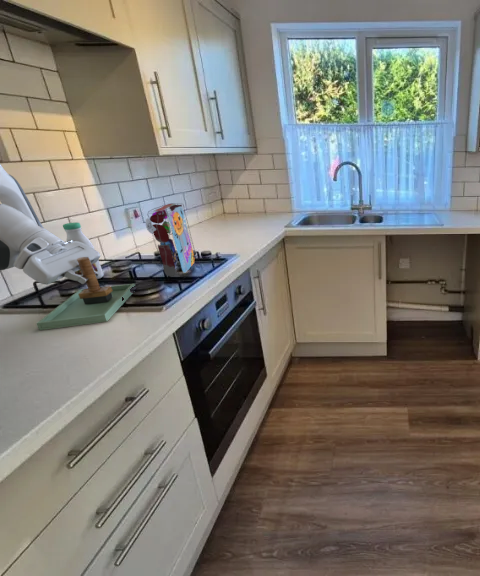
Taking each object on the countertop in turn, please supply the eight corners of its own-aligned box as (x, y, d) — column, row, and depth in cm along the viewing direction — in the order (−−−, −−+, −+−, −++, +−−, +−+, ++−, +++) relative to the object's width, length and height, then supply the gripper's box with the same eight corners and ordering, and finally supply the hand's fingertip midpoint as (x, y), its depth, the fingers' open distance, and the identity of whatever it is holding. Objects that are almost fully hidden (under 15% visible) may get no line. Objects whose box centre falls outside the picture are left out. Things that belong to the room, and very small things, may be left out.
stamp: (82, 305, 107) (64, 261, 102) (89, 299, 111) (72, 257, 105) (109, 301, 109) (93, 258, 103) (114, 296, 112) (99, 254, 107)
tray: (39, 330, 95) (35, 323, 94) (81, 295, 116) (79, 289, 115) (107, 321, 99) (104, 314, 98) (136, 289, 120) (134, 283, 119)
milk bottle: (85, 275, 133) (65, 221, 125) (108, 273, 134) (90, 220, 126) (72, 283, 126) (50, 226, 118) (97, 281, 127) (77, 225, 119)
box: (174, 290, 118) (154, 216, 108) (154, 292, 117) (132, 217, 107) (198, 265, 140) (183, 202, 131) (182, 266, 140) (165, 203, 130)
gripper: (68, 245, 113) (110, 273, 117) (7, 268, 94) (59, 300, 98) (77, 231, 112) (119, 260, 116) (17, 251, 93) (69, 285, 97)
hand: (91, 279), depth 107 cm, fingers closed on stamp, 3 cm apart
